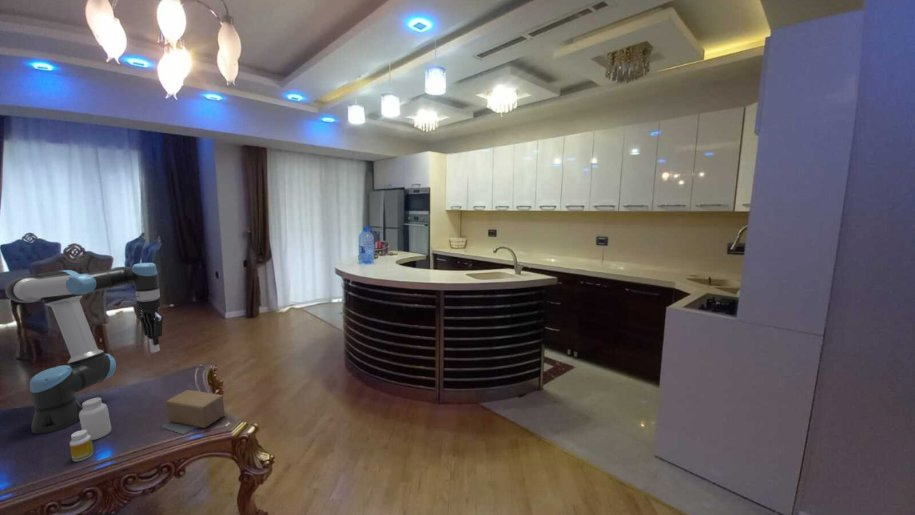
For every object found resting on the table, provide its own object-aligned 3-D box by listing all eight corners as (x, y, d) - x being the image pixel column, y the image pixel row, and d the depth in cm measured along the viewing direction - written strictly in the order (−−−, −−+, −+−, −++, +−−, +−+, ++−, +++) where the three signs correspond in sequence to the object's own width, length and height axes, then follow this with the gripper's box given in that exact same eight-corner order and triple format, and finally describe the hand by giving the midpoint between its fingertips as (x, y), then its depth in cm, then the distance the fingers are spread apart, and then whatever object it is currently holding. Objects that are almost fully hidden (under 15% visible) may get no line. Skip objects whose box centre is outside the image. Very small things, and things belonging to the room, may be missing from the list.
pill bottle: (91, 431, 143) (85, 397, 141) (115, 426, 146) (110, 394, 144) (78, 443, 136) (71, 408, 133) (104, 438, 139) (98, 404, 136)
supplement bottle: (93, 456, 129) (89, 432, 127) (72, 464, 125) (67, 439, 123) (93, 449, 132) (89, 426, 131) (72, 456, 129) (68, 433, 127)
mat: (161, 427, 145) (161, 426, 145) (196, 409, 158) (196, 408, 158) (183, 435, 141) (183, 434, 141) (217, 415, 154) (217, 414, 154)
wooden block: (167, 422, 148) (205, 429, 144) (164, 400, 147) (202, 407, 142) (190, 409, 158) (226, 415, 153) (187, 388, 156) (223, 394, 152)
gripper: (128, 299, 146) (135, 352, 150) (147, 303, 142) (154, 357, 145) (149, 295, 153) (155, 346, 157) (168, 298, 149) (174, 350, 152)
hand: (155, 351), depth 151 cm, fingers closed
